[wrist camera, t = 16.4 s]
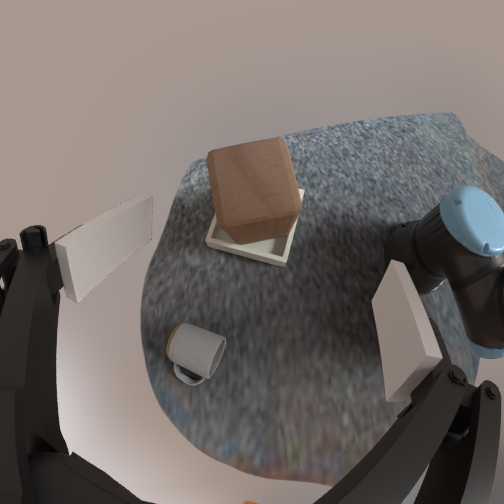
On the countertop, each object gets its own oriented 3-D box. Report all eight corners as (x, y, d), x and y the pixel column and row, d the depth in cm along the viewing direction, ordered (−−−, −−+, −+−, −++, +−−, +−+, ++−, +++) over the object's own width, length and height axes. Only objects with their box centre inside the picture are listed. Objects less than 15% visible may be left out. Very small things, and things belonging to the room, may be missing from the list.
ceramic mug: (186, 320, 48) (173, 318, 40) (229, 337, 47) (222, 338, 39) (168, 373, 45) (152, 379, 38) (209, 390, 44) (200, 400, 36)
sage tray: (302, 198, 54) (304, 190, 51) (284, 267, 50) (286, 262, 47) (232, 181, 55) (230, 172, 52) (208, 246, 51) (205, 240, 48)
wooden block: (236, 246, 50) (216, 228, 30) (226, 194, 51) (203, 148, 31) (290, 236, 50) (305, 210, 30) (279, 184, 51) (285, 132, 31)
